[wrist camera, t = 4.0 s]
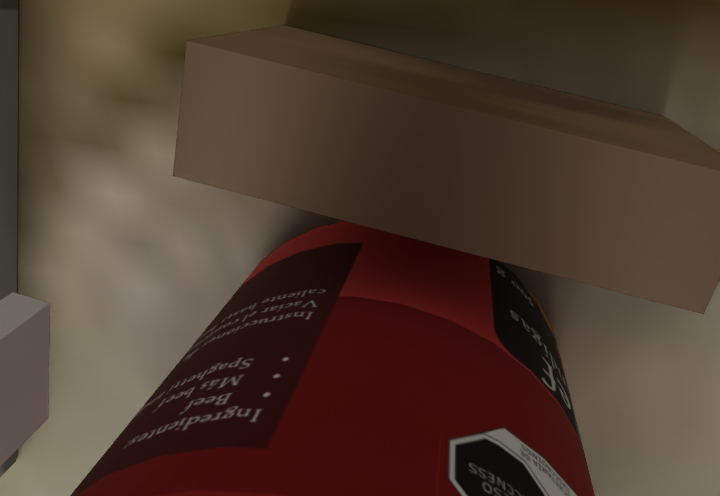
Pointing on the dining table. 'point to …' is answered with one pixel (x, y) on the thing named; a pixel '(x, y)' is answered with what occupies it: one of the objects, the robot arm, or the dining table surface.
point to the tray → (8, 155)
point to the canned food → (360, 384)
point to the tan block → (455, 160)
